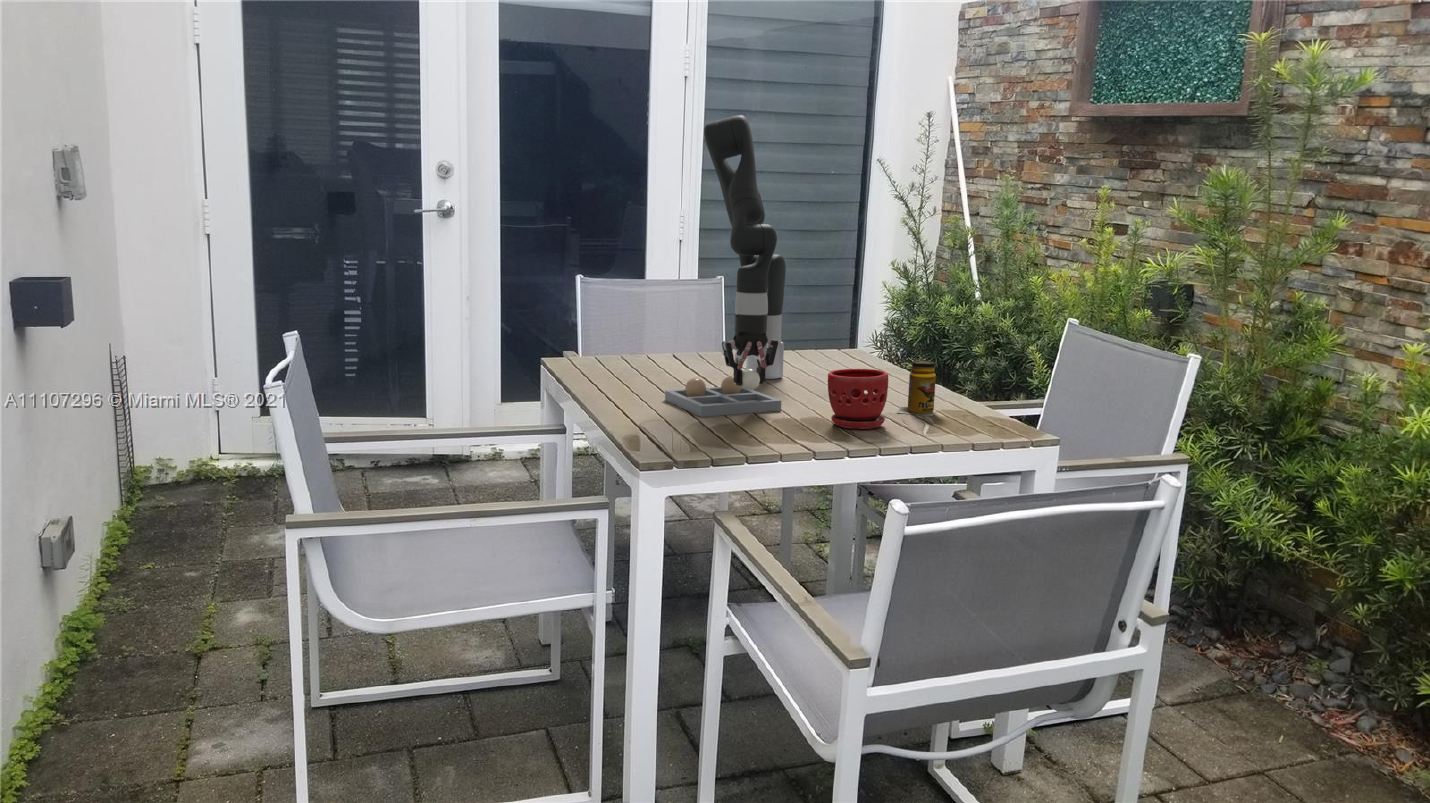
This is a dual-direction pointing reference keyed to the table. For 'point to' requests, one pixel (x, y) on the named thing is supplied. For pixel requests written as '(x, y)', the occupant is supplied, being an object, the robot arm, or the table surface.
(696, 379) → the brown egg
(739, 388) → the brown egg
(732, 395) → the egg tray
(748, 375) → the pale egg
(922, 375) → the condiment
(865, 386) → the plant pot
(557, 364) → the table surface
